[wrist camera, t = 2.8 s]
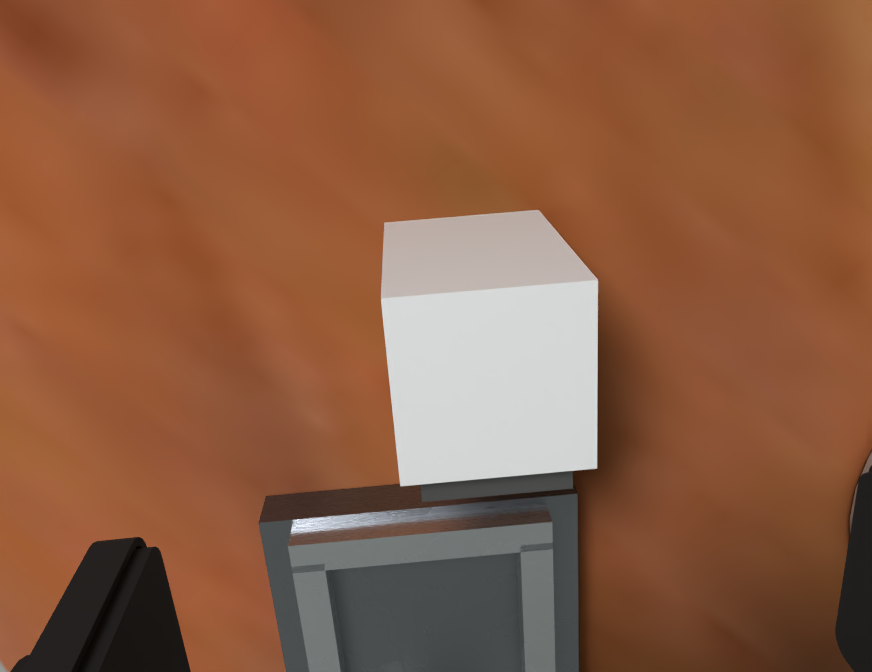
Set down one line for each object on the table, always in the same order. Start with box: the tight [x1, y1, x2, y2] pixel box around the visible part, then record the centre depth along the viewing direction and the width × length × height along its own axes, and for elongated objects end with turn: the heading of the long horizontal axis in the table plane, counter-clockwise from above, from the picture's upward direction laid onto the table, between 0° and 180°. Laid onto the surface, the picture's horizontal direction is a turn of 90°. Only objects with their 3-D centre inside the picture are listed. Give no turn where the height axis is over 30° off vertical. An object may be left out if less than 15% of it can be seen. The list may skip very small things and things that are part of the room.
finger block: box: [381, 210, 598, 502], centre depth 20 cm, size 4×5×7 cm
